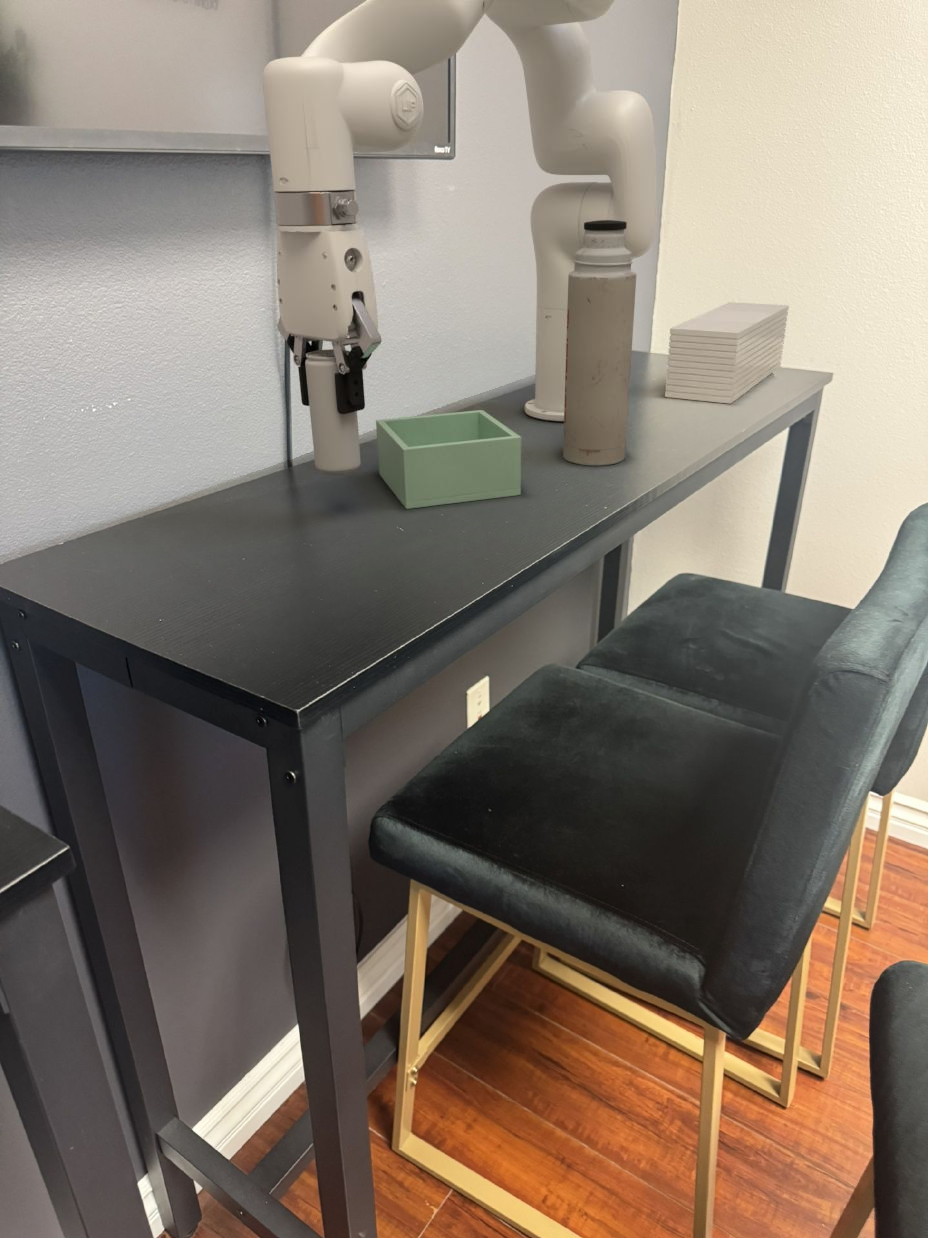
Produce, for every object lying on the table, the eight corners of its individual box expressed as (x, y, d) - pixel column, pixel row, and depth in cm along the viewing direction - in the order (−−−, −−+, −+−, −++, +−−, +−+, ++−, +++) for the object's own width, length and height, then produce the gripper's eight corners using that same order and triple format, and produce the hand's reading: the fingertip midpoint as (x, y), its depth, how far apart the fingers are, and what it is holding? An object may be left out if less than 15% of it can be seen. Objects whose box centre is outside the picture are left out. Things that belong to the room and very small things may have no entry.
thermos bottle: (552, 460, 115) (558, 221, 102) (577, 445, 121) (586, 218, 108) (611, 469, 111) (625, 222, 99) (634, 452, 117) (649, 218, 105)
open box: (379, 474, 111) (375, 419, 108) (483, 462, 115) (482, 409, 112) (406, 509, 100) (403, 449, 96) (520, 495, 103) (521, 436, 100)
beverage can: (318, 478, 92) (307, 359, 87) (313, 465, 97) (301, 350, 91) (364, 473, 93) (356, 355, 88) (357, 460, 98) (348, 347, 92)
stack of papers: (730, 403, 140) (738, 332, 135) (664, 397, 145) (670, 327, 140) (780, 366, 164) (788, 305, 159) (722, 361, 169) (729, 302, 164)
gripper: (409, 212, 81) (417, 412, 89) (292, 210, 92) (309, 389, 100) (346, 216, 76) (361, 428, 84) (230, 213, 87) (254, 402, 95)
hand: (333, 405), depth 92 cm, fingers closed on beverage can, 4 cm apart
